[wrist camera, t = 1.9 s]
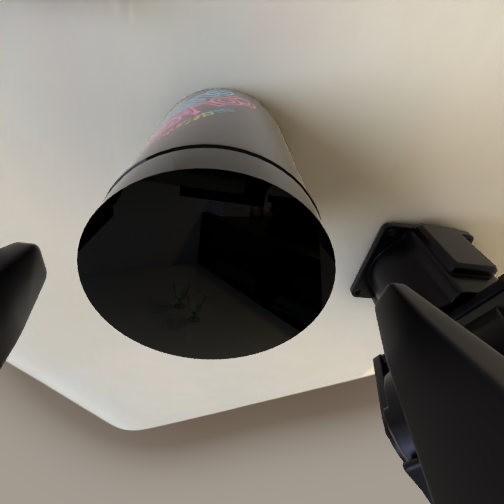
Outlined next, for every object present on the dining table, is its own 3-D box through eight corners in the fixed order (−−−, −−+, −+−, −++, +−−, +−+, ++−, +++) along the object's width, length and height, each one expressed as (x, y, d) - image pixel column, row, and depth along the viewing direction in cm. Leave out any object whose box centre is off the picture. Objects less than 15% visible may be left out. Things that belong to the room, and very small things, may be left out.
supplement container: (285, 78, 14) (355, 155, 6) (284, 204, 18) (324, 352, 10) (144, 89, 14) (18, 179, 6) (174, 212, 18) (125, 367, 10)
